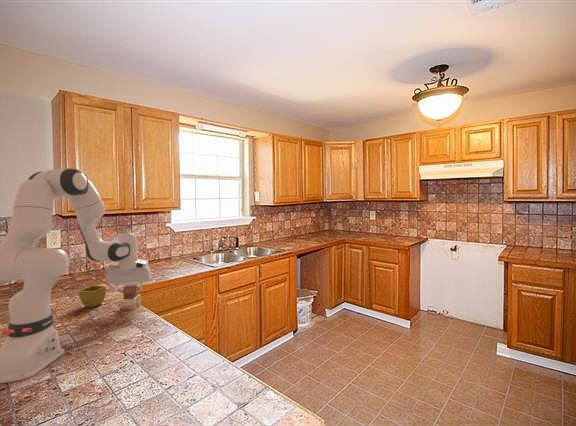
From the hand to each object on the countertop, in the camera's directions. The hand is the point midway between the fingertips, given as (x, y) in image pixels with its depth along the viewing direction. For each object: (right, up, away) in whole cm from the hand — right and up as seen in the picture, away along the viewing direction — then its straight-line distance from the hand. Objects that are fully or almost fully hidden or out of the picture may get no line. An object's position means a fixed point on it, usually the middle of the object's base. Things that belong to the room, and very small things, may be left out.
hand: (130, 290), depth 155 cm
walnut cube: (0, -3, 0) cm, 3 cm away
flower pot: (-20, -9, +3) cm, 22 cm away
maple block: (0, -8, +1) cm, 8 cm away
